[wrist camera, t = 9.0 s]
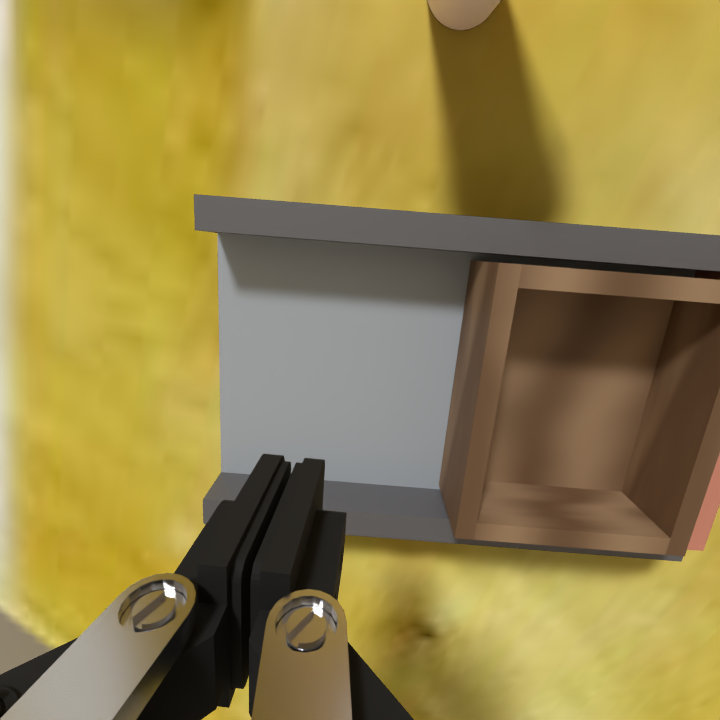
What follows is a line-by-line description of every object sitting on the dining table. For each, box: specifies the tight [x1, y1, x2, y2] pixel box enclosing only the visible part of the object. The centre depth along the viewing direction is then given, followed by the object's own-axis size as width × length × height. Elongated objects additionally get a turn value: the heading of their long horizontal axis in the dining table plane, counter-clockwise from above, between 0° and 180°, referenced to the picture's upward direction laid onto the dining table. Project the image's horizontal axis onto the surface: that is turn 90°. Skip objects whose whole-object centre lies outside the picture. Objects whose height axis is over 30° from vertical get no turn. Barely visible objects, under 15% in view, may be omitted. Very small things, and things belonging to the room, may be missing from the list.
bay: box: [194, 194, 720, 561], centre depth 23 cm, size 28×18×5 cm, turn 86°
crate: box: [439, 260, 720, 556], centre depth 22 cm, size 12×14×5 cm
